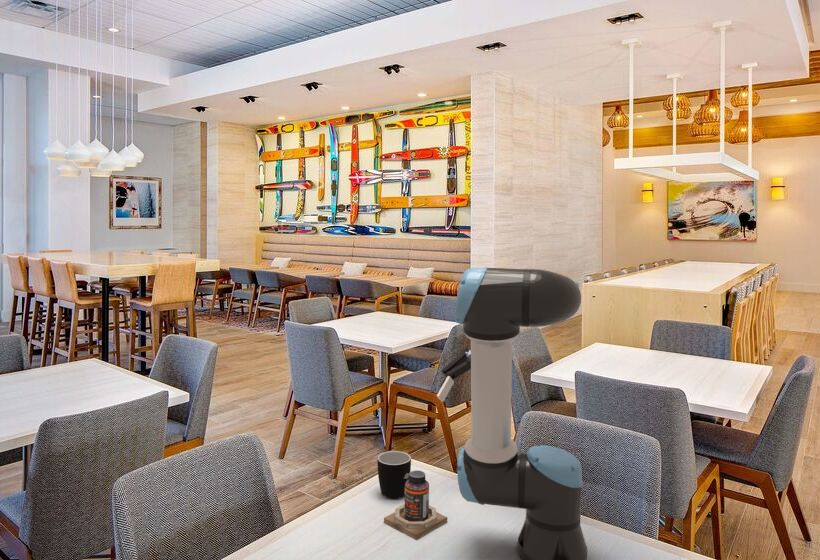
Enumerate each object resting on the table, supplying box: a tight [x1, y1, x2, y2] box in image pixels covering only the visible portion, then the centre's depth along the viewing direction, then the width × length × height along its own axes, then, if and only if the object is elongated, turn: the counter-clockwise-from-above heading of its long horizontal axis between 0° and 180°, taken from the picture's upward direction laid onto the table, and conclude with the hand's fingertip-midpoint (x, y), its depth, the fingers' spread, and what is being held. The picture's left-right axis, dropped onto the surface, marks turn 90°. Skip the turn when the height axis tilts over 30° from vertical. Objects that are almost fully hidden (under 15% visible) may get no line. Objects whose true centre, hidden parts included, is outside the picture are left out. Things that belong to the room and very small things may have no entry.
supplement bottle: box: [404, 470, 430, 522], centre depth 142 cm, size 6×6×11 cm
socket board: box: [383, 503, 448, 540], centre depth 143 cm, size 11×11×2 cm
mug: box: [377, 450, 412, 500], centre depth 158 cm, size 12×9×10 cm
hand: (459, 405), depth 152 cm, fingers open, 13 cm apart
